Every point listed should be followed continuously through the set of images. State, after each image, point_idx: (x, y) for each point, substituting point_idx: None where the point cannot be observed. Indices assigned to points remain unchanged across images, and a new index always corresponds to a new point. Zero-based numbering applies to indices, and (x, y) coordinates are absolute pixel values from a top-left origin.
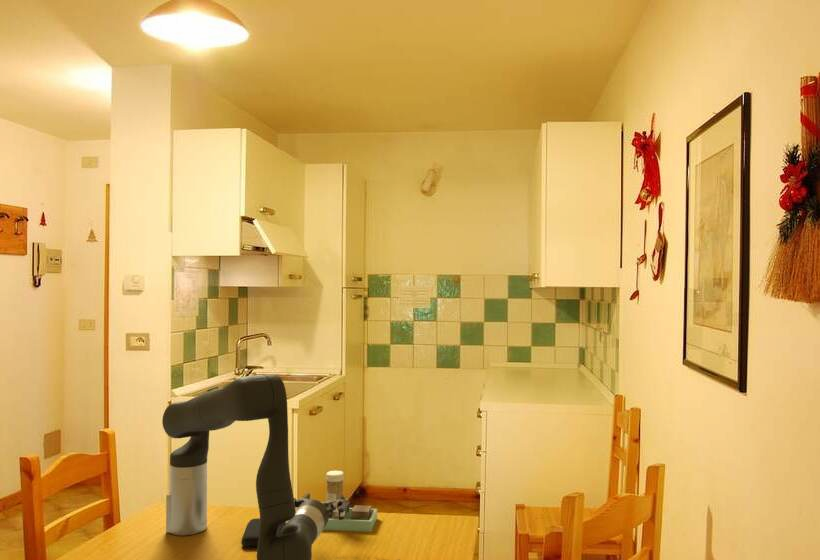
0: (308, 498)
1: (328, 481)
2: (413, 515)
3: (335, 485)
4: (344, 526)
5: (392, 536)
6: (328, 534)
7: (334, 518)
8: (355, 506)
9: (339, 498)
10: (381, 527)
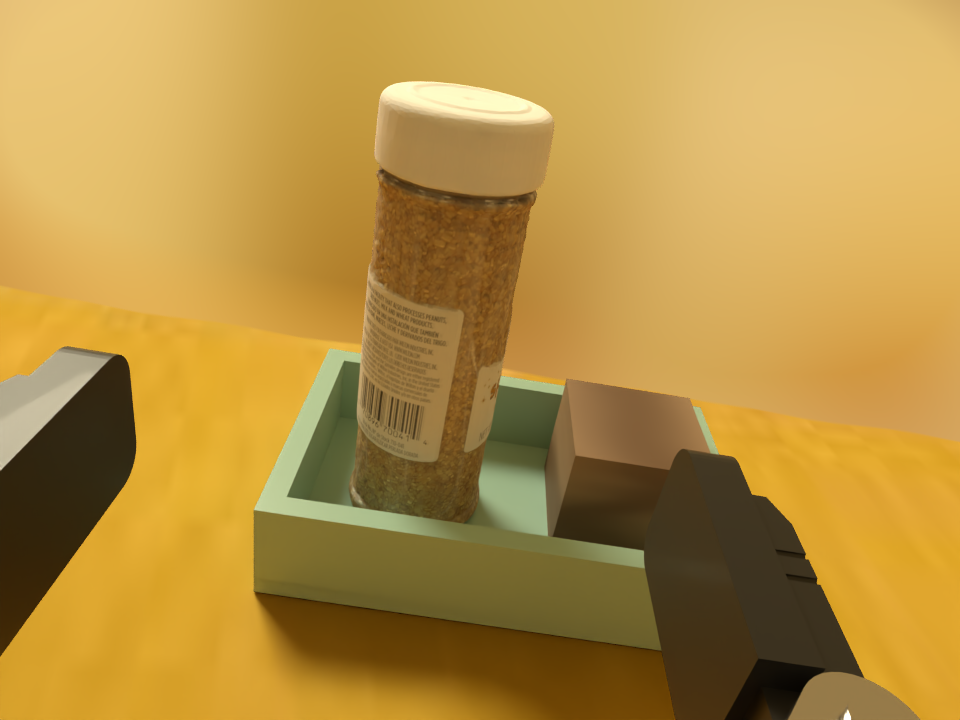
0: (87, 453)
1: (399, 179)
2: (844, 432)
3: (471, 230)
4: (518, 590)
5: (924, 711)
6: (373, 651)
7: (423, 492)
8: (579, 394)
9: (766, 601)
10: None
